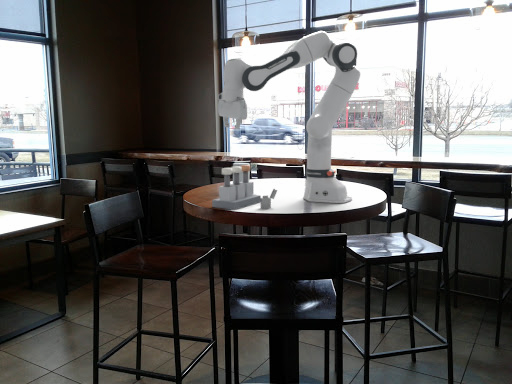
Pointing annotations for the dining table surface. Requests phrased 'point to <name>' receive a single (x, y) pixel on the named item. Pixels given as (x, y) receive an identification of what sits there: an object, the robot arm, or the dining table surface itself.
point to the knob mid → (236, 174)
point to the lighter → (268, 199)
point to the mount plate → (236, 196)
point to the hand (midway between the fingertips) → (231, 128)
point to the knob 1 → (226, 176)
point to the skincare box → (241, 172)
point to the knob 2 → (245, 172)
